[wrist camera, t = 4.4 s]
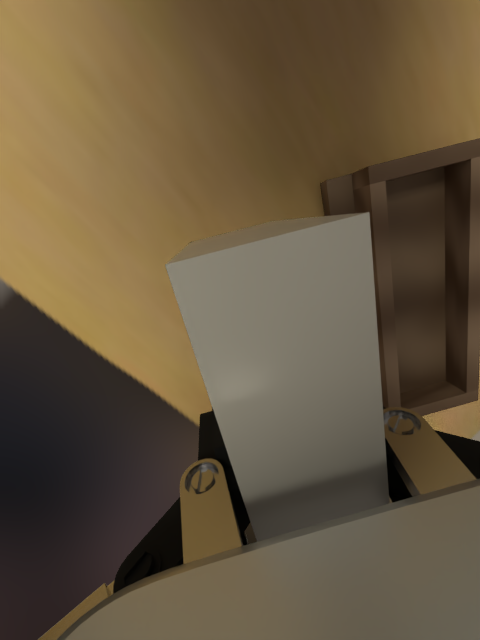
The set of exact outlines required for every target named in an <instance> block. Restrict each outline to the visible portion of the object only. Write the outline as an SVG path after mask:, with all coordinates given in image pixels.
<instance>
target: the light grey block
mask: <svg viewBox="0 0 480 640" xmlns="http://www.w3.org/2000/svg"><path fill="white" fill-rule="evenodd" d="M165 266H166V269H167V272H168V275H169V278H170V281H171V284H172V287H173V290H174V293H175V296H176V299H177V302H178V305H179V308H180V311H181V314H182V317H183V320H184V323H185V326H186V329H187V332H188V335H189V338H190V341H191V344H192V347H193V350H194V353H195V356H196V359H197V362H198V365H199V368H200V371H201V374H202V377H203V381H204V384H205V387H206V390H207V393H208V396H209V399H210V402H211V405H212V408H213V411H214V414H215V417H216V420H217V423H218V426H219V429H220V432H221V435H222V438H223V441H224V444H225V447H226V450H227V453H228V456H229V459H230V462H231V465H232V468H233V471H234V474H235V477H236V480H237V483H238V486H239V489H240V492H241V495H242V498H243V501H244V504H245V507H246V510H247V513H248V516H249V519H250V522H251V525H252V528H253V531H254V534H255V537H256V540H257V542H258V541H262V540H265V539H268V538H272V537H275V536H279V535H282V534H285V533H289V532H292V531H296V530H299V529H303V528H306V527H309V526H313V525H316V524H320V523H323V522H327V521H330V520H334V519H337V518H341V517H344V516H348V515H351V514H355V513H358V512H362V511H365V510H369V509H372V508H376V507H379V506H383V505H386V504H389V490H388V475H387V461H386V446H385V432H384V417H383V402H382V388H381V373H380V359H379V344H378V330H377V315H376V301H375V286H374V272H373V257H372V243H371V228H370V214H369V212H365V213H354V214H343V215H332V216H321V217H310V218H298V219H287V220H276V221H271V222H267V223H263V224H259V225H255V226H251V227H247V228H244V229H240V230H236V231H232V232H228V233H224V234H220V235H216V236H212V237H209V238H205V239H201V240H197V241H193V242H190V243H189V244H188V245H187V246H186V247H185V248H183V249H182V250H181V251H180V252H179V253H178V254H177V255H176V256H174V257H173V258H172V259H171V260H170V261H169V262H168V263H167V264H165Z"/></svg>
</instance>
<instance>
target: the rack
mask: <svg viewBox="0 0 480 640" xmlns="http://www.w3.org/2000/svg"><path fill="white" fill-rule="evenodd" d="M320 184H321V192H322V199H323V206H324V214H325V216H332V215H343V214H354V213H365V212H369V214H370V228H371V243H372V257H373V272H374V286H375V301H376V315H377V330H378V344H379V359H380V373H381V388H382V402H383V406H384V407H385V408H389V407H402V408H407V409H410V410H413V411H415V412H416V413H418V414H420V415H421V416H424V415H427V414H431V413H434V412H438V411H441V410H445V409H448V408H452V407H456V406H459V405H463V404H466V403H470V402H473V401H477V400H478V385H479V357H480V138H479V139H475V140H471V141H467V142H463V143H459V144H455V145H451V146H447V147H443V148H439V149H435V150H431V151H428V152H424V153H420V154H416V155H412V156H408V157H404V158H400V159H396V160H392V161H388V162H384V163H380V164H376V165H372V166H368V167H366V168H364V169H362V170H359V171H357V172H355V173H353V174H350V175H346V176H342V177H338V178H334V179H330V180H326V181H324V182H322V183H320Z"/></svg>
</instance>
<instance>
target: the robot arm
mask: <svg viewBox="0 0 480 640" xmlns="http://www.w3.org/2000/svg"><path fill="white" fill-rule="evenodd" d="M383 417H384V432H385V446H386V461H387V475H388V490H389V504H386V505H383V506H379V507H376V508H372V509H369V510H365V511H362V512H358V513H355V514H351V515H348V516H344V517H341V518H337V519H334V520H330V521H327V522H323V523H320V524H316V525H313V526H309V527H306V528H303V529H299V530H296V531H292V532H289V533H285V534H282V535H279V536H275V537H272V538H268V539H265V540H262V541H258V542H255V543H251V544H248V540H247V536H246V533H245V529H246V528H247V526H248V525H249V523H250V519H249V516H248V513H247V510H246V507H245V504H244V501H243V498H242V495H241V492H240V489H239V486H238V483H237V480H236V477H235V474H234V471H233V468H232V465H231V462H230V459H229V456H228V453H227V450H226V447H225V444H224V441H223V438H222V435H221V432H220V429H219V426H218V423H217V420H216V417H215V414H214V411H213V408H212V411H211V412H207V413H203V414H201V415H200V429H199V454H198V461H197V462H195V463H193V464H192V465H191V466H190V467H188V468H187V470H186V471H185V472H184V473H183V476H182V478H181V480H180V498H179V499H178V500H177V501H176V502H175V503H174V504H173V506H172V507H171V508H170V509H169V510H168V511H167V512H166V513H165V515H164V516H163V517H162V518H161V519H160V520H159V521H158V523H157V524H156V525H155V526H154V527H153V528H152V529H151V530H150V532H149V533H148V534H147V535H146V536H145V537H144V538H143V539H142V540H141V542H140V543H139V544H138V545H137V546H136V547H135V548H134V550H133V551H132V552H131V553H130V554H129V555H128V556H127V558H126V559H125V560H124V562H123V563H122V564H121V566H120V568H119V570H118V572H117V574H116V578H115V580H114V581H113V582H112V583H111V584H110V585H108V586H106V584H105V583H104V584H103V585H102V586H101V587H99V588H98V589H97V590H96V591H95V592H94V593H92V594H91V595H90V596H89V597H88V598H86V599H85V600H84V601H83V602H82V603H80V604H79V605H78V606H77V607H76V608H75V609H73V610H72V611H71V612H70V613H69V614H68V615H66V616H65V617H64V618H63V619H62V620H60V621H59V622H58V623H57V624H56V625H55V626H54V627H52V628H51V629H50V630H49V631H47V632H46V633H45V634H44V635H43V636H42V637H40V638H39V639H38V640H480V442H479V441H475V440H471V439H467V438H464V437H460V436H456V435H452V434H448V433H444V432H440V431H436V430H434V429H433V428H432V427H431V426H430V425H429V424H428V423H427V421H426V420H425V419H424V418H423V417H422V416H421V415H420V414H418V413H416V412H415V411H413V410H410V409H407V408H402V407H389V408H385V407H384V406H383Z"/></svg>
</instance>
